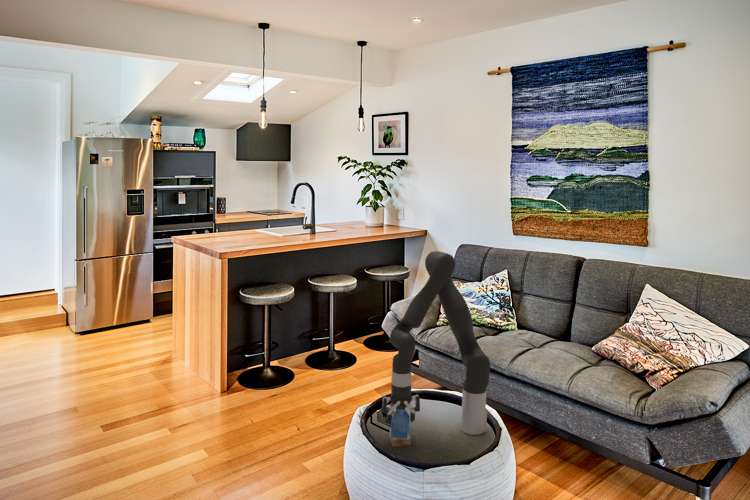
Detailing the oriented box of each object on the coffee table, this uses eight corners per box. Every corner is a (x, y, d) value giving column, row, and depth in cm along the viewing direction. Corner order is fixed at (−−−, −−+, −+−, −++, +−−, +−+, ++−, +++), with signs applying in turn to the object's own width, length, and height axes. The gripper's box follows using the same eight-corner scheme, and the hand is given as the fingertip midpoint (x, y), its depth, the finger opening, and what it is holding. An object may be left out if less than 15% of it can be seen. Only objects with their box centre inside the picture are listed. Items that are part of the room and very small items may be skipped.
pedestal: (407, 435, 212) (407, 428, 212) (410, 445, 205) (411, 437, 205) (389, 436, 211) (389, 429, 211) (392, 446, 204) (392, 439, 204)
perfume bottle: (407, 438, 204) (408, 409, 202) (390, 437, 205) (391, 407, 203) (408, 430, 210) (409, 401, 208) (393, 428, 211) (393, 400, 209)
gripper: (417, 376, 208) (416, 416, 211) (381, 378, 206) (380, 418, 209) (422, 385, 201) (421, 425, 204) (384, 387, 199) (383, 428, 202)
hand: (400, 421), depth 207 cm, fingers open, 8 cm apart
